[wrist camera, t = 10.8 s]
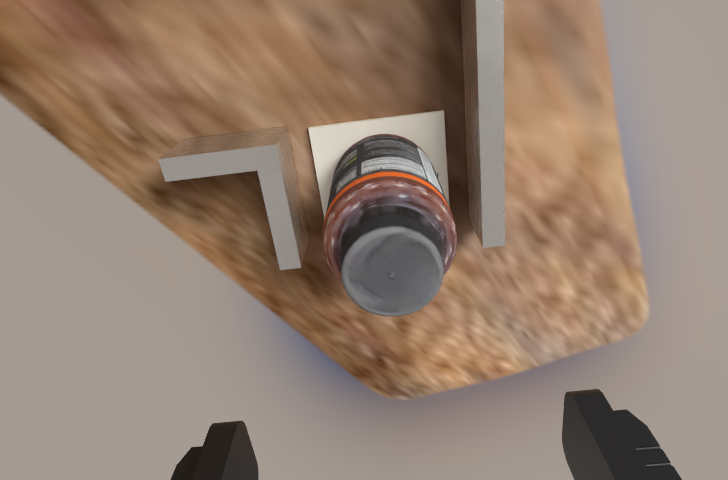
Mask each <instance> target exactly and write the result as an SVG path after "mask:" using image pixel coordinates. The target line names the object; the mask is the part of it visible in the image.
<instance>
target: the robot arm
mask: <svg viewBox="0 0 728 480" xmlns="http://www.w3.org/2000/svg"><path fill="white" fill-rule="evenodd" d="M562 443H563V449H564V453H565V457H566V460H567V463H568V465H569V468H570V470H571V472H572V475H573V477H574V479H575V480H682V479H681V478H680V476H679V475H678V473H677V471H676V470H675V468H674V467H673V466H671V464H670V461H669V459H668V458H667V456H666V454H665V453H664V451H663V450H662V449H660V446H659V444H658V442H657V441H656V439H655V438H654V436H653V435H652V433H651V431H650V430H649V428H648V427H647V426H646V425H645V424H644V423H643V422H641V421H640V420H639V419H638V418H637V417H635V416H634V415H632V414H631V413H630V412H629V411H628V410H616V411H613V410H612V408H611V406H610V405H609V403H608V401H607V400H606V398H605V396H604V395H603V393H602V392H601V391H600V390H599V389H593V390H583V391H571V392H566V394H565V398H564V414H563V430H562ZM171 480H258V465H257V461H256V457H255V454H254V451H253V448H252V444H251V441H250V438H249V435H248V432H247V428H246V426H245V423H244V422H243V421H235V422H223V423H213V424H212V425H211V427H210V428H209V431H208V433H207V436H206V439H205V442H204V444H203V446H202V447H192V448H191V449H190V450H189V451H188V452H187V454H186V455H185V456H184V457H183V458H182V460H181V461H180V462H179V463H178V464H177V466H176V468H175V470H174V473H173V475H172V478H171Z"/></svg>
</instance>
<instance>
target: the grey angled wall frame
mask: <svg viewBox="0 0 728 480" xmlns="http://www.w3.org/2000/svg"><path fill="white" fill-rule="evenodd" d="M460 1H461V26H462V51H463V76H464V100H465V125H466V150H467V175H468V200H469V219H470V221H471V224H472V226H473V228H474V230H475V232H476V234H477V236H478V239H479V241H480V243H481V245H482V247H483V248H486V247H495V246H504V245H505V150H504V1H503V0H460ZM158 160H159V163H160V166H161V169H162V172H163V176H164V179H165V182H168V181H177V180H185V179H193V178H201V177H209V176H217V175H225V174H234V173H242V172H250V171H257V172H258V176H259V180H260V185H261V189H262V194H263V198H264V202H265V207H266V211H267V215H268V220H269V224H270V229H271V233H272V237H273V242H274V246H275V250H276V255H277V259H278V264H279V268H280V270H286V269H295V268H301V267H302V263H303V259H304V255H305V251H306V247H307V243H308V239H309V235H308V230H307V225H306V220H305V214H304V209H303V204H302V199H301V194H300V189H299V183H298V178H297V173H296V168H295V163H294V158H293V152H292V147H291V142H290V137H289V132H288V127H287V126H285V127H277V128H269V129H261V130H254V131H246V132H238V133H230V134H222V135H214V136H207V137H199V138H191V139H184V140H183V141H182V142H180V143H179V144H178V145H176V146H175V147H174V148H173V149H171V150H170V151H169V152H167V153H166V154H165V155H163V156H162V157H161V158H159V159H158Z"/></svg>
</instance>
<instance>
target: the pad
mask: <svg viewBox="0 0 728 480" xmlns="http://www.w3.org/2000/svg"><path fill="white" fill-rule="evenodd" d="M308 129H309V135H310V141H311V146H312V152H313V158H314V163H315V169H316V175H317V180H318V186H319V192H320V197H321V203H322V209H323V214H324V220H325V215H326V210H327V205H328V200H329V195H330V189H331V185H332V180H333V175H334V172H335V169H336V166H337V164H338V162H339V160H340V159H341V157H342V156H343V154H344V153H345V152H346V151H347V150H348V149H349V148H350V147H351V146H352V145H353V144H355V143H356V142H358V141H360V140H362V139H363V138H365V137H368V136H372V135H377V134H393V135H398V136H401V137H404V138H407V139H409V140H410V141H412V142H414V143H415V144H416V145H417V146H419V147H420V148H421V149H422V150H423V151H424V152H425V154H426V155H427V157H428V158H429V160H430V162H431V163H432V165H433V167H434V170H435V172H436V175H437V173H438V180H439V182H440V184H441V187H442V189H443V192H444V195H445V197H446V200H447V201H448V204H449V190H448V173H447V156H446V138H445V121H444V110H439V111H431V112H423V113H415V114H407V115H399V116H392V117H384V118H376V119H368V120H360V121H352V122H344V123H337V124H329V125H321V126H313V127H309V128H308Z"/></svg>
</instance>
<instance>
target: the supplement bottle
mask: <svg viewBox="0 0 728 480" xmlns="http://www.w3.org/2000/svg"><path fill="white" fill-rule="evenodd" d="M456 247H457V230H456V225H455V222H454V218H453V214H452V212H451V210H450V207H449V204H448V201H447V200H446V197H445V195H444V192H443V189H442V187H441V184H440V182H439V180H438V173H437V175H436V172H435V170H434V167H433V165H432V163H431V162H430V160H429V158H428V157H427V155H426V154H425V152H424V151H423V150H422V149H421V148H420V147H419V146H417V145H416V144H415V143H414V142H412V141H410V140H409V139H407V138H404V137H401V136H398V135H393V134H377V135H372V136H368V137H365V138H363V139H362V140H360V141H358V142H356V143H355V144H353V145H352V146H351V147H350V148H349V149H348V150H347V151H346V152H345V153H344V154H343V156H342V157H341V159H340V160H339V162H338V164H337V166H336V169H335V172H334V175H333V180H332V185H331V189H330V195H329V200H328V205H327V210H326V215H325V220H324V226H323V249H324V254H325V257H326V261H327V263H328V265H329V267H330V269H331V271H332V272H333V274H334V275H335V276H336V278H337V279H338V280H339V281H340V282H341V283H342V284H343V285H344V287H345V290H346V292H347V294H348V295H349V297H350V298H351V299H352V300H353V301H354V302H355V303H356V304H357V305H358V306H360V307H361V308H363V309H365V310H366V311H368V312H371V313H373V314H377V315H381V316H402V315H408V314H411V313H413V312H415V311H417V310H419V309H421V308H423V307H424V306H425V305H426V304H428V303H429V302H430V301H431V300H432V299H433V298H434V297H435V295H436V294H437V292H438V291H439V289H440V286H441V284H442V280H443V276H444V275H445V274H446V273H447V271H448V269H449V267H450V265H451V263H452V261H453V258H454V256H455V251H456Z"/></svg>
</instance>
